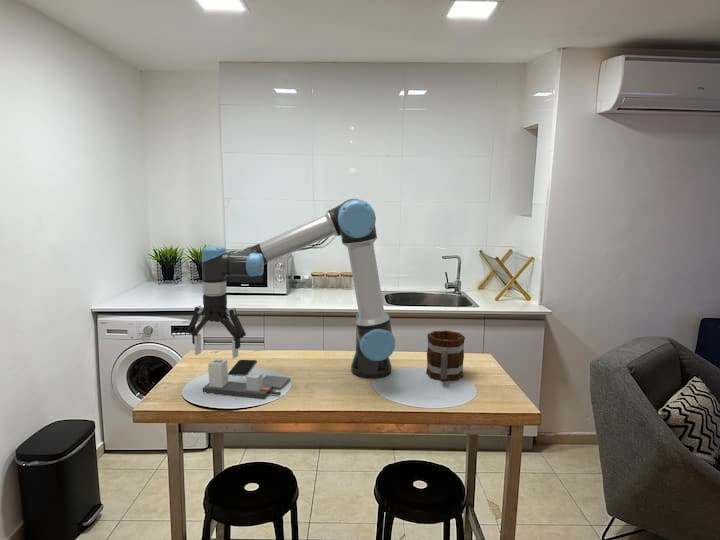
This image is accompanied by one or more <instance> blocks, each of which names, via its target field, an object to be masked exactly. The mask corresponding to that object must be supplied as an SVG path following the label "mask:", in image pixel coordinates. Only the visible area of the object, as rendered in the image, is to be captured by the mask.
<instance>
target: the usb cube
mask: <svg viewBox="0 0 720 540" xmlns="http://www.w3.org/2000/svg"><path fill="white" fill-rule="evenodd" d="M263 378H264V377H263V373H262V372H253V371H250V373H249V374H248V375H247V376H245V383H246V389H247V390H255V391H258V390H259V389H260V388H261V387H262V386H263Z"/></svg>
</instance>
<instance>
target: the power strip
mask: <svg viewBox="0 0 720 540" xmlns="http://www.w3.org/2000/svg"><path fill="white" fill-rule="evenodd" d="M203 392H206V393H205V394H209V393H214V394H213V395H218V394H221V395H220V396H229V397H238V398H239V397H240V398H249V399H259V400H265V399H266V398H268V397H269V395H277V396H281V394H282V392H281V391H276V390H273V386H271V385H263V386H262V387H261V388H260V389H259V390H258V391H255V390H247V389H246V382H241V381H231V380H230V381H229V380H228V383H227V384H225V385H224V386H223V387H212V386H209V382H208V383H207V384H206V385H204V386H203V387H202V393H203Z"/></svg>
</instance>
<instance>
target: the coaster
mask: <svg viewBox="0 0 720 540" xmlns="http://www.w3.org/2000/svg"><path fill="white" fill-rule="evenodd" d="M262 378H263V385H271V386H273V391H276V390H277V391H282V390H283V389H284V388H285V387H286V385H288V384H289V382H290V381H291V377H290V376H289V377H287V376H277V375H276V376H275V375H265V376H264V377H262Z"/></svg>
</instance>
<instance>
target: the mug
mask: <svg viewBox="0 0 720 540" xmlns="http://www.w3.org/2000/svg"><path fill="white" fill-rule="evenodd" d="M465 339H466V337H465V335H463V334H462V333H461V332H457V331H452V330H433V331H431V332H430V333H428V334H427V351H426V360H427V363H426V371H425V372H426V373H425V374H426V375H427V376H428V378H429V379H430V380H435V381H439V382H442V383H443V382H444V383H446V382H458V381H459V380H460V379H462V378H463V377H464V372H463V371H464V361H465V352H464V351H465V350H464V347H465V345H464V344H465V341H466V340H465Z"/></svg>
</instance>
